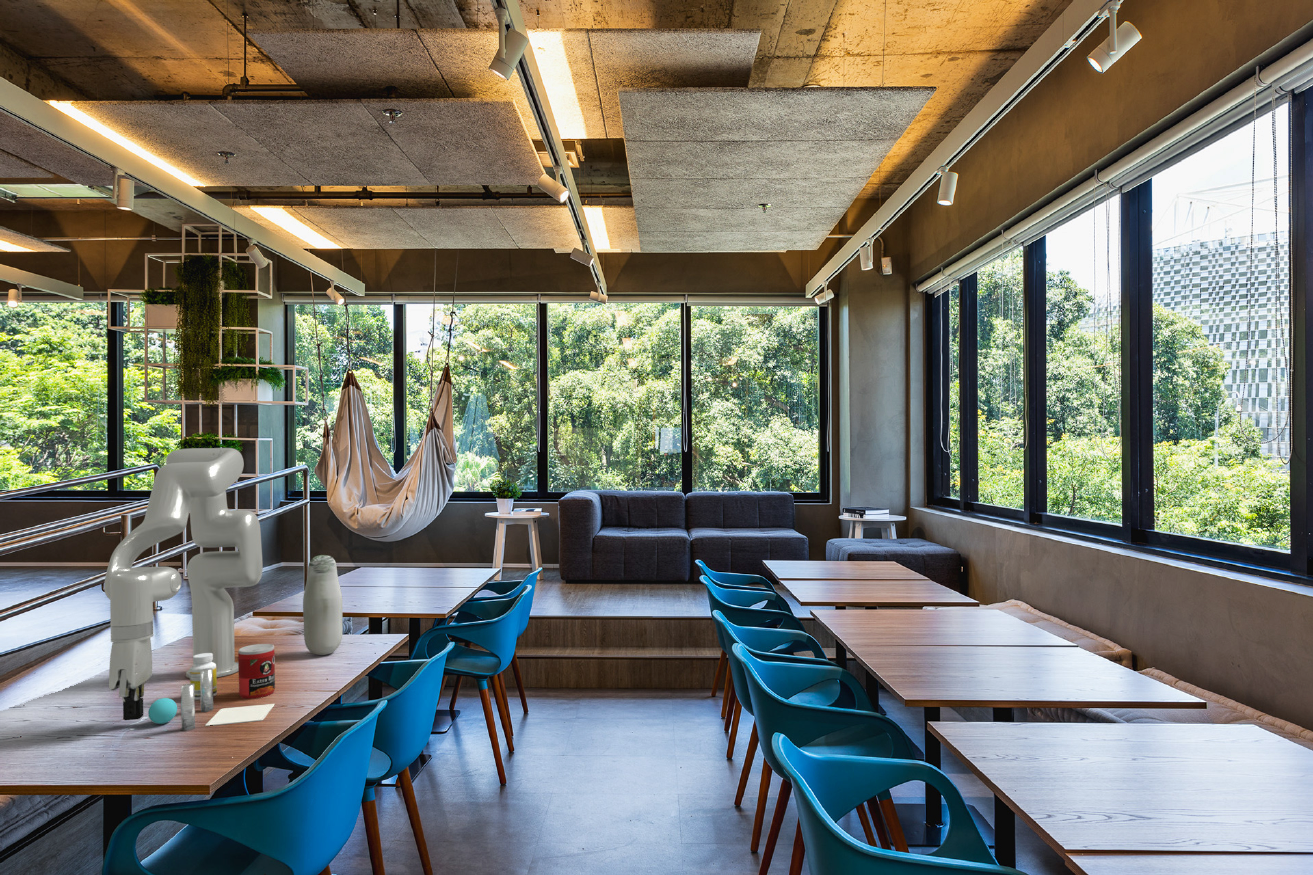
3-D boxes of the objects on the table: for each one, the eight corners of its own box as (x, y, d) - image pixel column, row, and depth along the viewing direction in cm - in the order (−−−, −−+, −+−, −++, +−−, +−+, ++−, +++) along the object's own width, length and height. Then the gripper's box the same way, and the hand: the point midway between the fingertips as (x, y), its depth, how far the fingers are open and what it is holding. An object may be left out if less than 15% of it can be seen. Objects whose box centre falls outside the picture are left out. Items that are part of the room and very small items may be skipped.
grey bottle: (299, 654, 221) (297, 555, 221) (335, 647, 228) (333, 551, 228) (311, 660, 214) (309, 558, 214) (348, 653, 221) (346, 554, 221)
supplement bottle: (213, 691, 188) (212, 650, 188) (219, 696, 184) (219, 654, 184) (187, 696, 184) (187, 655, 184) (194, 701, 180) (193, 659, 180)
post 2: (202, 708, 174) (202, 668, 175) (214, 707, 175) (214, 667, 175) (199, 712, 172) (198, 671, 172) (211, 711, 173) (210, 670, 173)
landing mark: (221, 709, 174) (221, 708, 174) (274, 704, 176) (274, 703, 176) (205, 726, 163) (205, 725, 163) (262, 720, 166) (262, 719, 166)
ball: (179, 692, 169) (183, 716, 169) (153, 698, 168) (158, 722, 168) (167, 698, 164) (172, 722, 163) (141, 705, 163) (146, 729, 163)
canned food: (251, 701, 179) (250, 653, 179) (231, 696, 184) (231, 649, 184) (282, 692, 186) (281, 645, 186) (262, 687, 190) (262, 642, 190)
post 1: (183, 727, 163) (183, 684, 163) (196, 725, 163) (196, 682, 163) (179, 731, 160) (179, 687, 160) (192, 729, 161) (192, 686, 161)
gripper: (127, 625, 171) (128, 709, 171) (95, 641, 157) (96, 732, 157) (165, 622, 173) (166, 705, 173) (137, 638, 159) (138, 728, 158)
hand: (133, 718), depth 165 cm, fingers closed
